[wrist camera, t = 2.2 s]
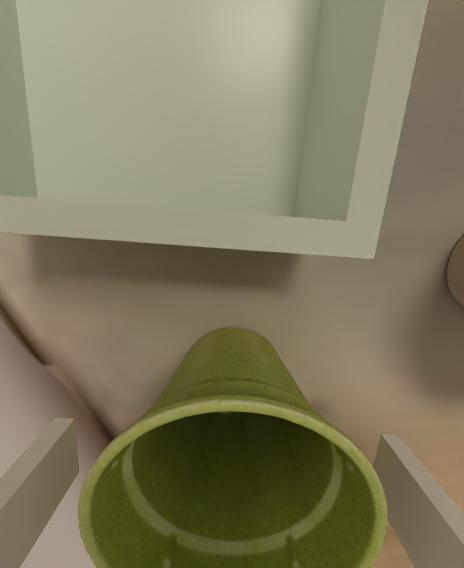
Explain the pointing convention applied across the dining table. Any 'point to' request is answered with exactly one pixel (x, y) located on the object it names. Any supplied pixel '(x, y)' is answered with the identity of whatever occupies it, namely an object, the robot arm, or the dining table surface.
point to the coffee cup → (456, 272)
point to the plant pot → (232, 474)
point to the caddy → (204, 120)
